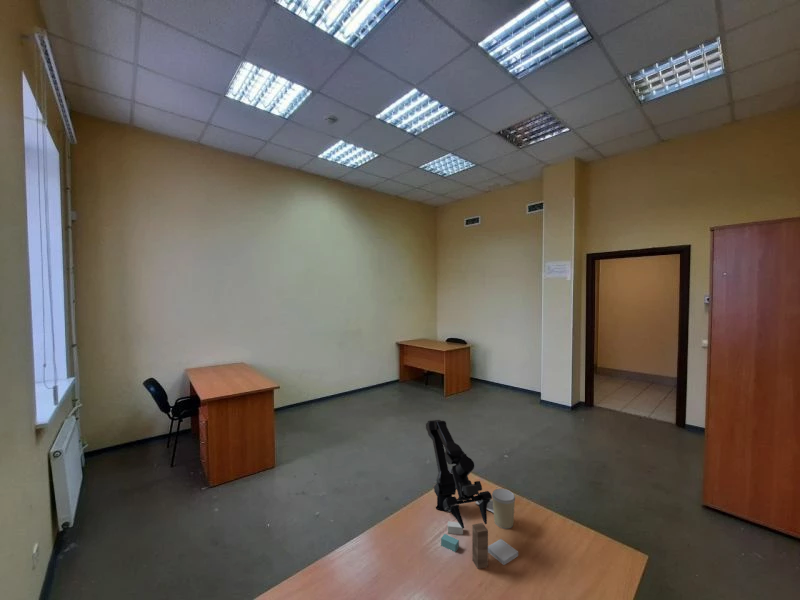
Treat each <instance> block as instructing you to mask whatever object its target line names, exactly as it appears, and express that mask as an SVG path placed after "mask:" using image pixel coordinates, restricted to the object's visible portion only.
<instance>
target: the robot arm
mask: <svg viewBox="0 0 800 600" xmlns="http://www.w3.org/2000/svg"><path fill="white" fill-rule="evenodd" d="M425 429H426V431H427V434H428V436H429V437H430V438H431V440H432V445H433V450H434V456H435V460H436V466H437V471H438V473H437V476H436V483H435V485H434V486H433V490H434V491H433V492H434V494H435V496H436V507H435V509H436V510H439V511H442V512H446V513H450V514H452V516H453V517H454V518H455V519H456V522H458V523H459V524H460V526H461V527H462V528H463V530H464V529H465V525H464V521H463V518H462V514H461V512H460V505H464V504H470V503H475V502H477V501H478V502H479V503H480V504H479V505H478V504H477V505H478V506H477V507H478V509H479V512H480V515H481V518H482V521H483V524H484V525H487V524H488V520H487V519H488V517H487V516H488V514H487V511H488V510H487V504H488V503H489V502H490V500H493V497H492V493H491V492H490V491H489V490H485V491H483V486H482V483H481V481H480V480H476V481H474V482H473V484H472V481H471V480H469V475H470V473H472V471H473V470H475V463H474V460H473V459H472V458H470V457H469V456H468V455H467V453H465V452H464V450H463V449H462V447H461V446H460V445H459V444H457V443H456V441H455V440H454V439H453V436H452V434H451V433H450V431H449V429H448V426H447V422H446V420H441V419H433V420H428V421H427V422H426V423H425ZM448 465H452V468H451V469H450V470H449V466H448ZM456 493H457V495H458V497H456V496H455V495H456Z"/></svg>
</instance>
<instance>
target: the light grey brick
mask: <svg viewBox="0 0 800 600" xmlns="http://www.w3.org/2000/svg"><path fill="white" fill-rule="evenodd" d="M447 534H453V535H464V529H463V528H462V527H461V526H460V524H459V523H458V521H447Z"/></svg>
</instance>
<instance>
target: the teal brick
mask: <svg viewBox="0 0 800 600" xmlns="http://www.w3.org/2000/svg"><path fill="white" fill-rule="evenodd" d="M459 540H460V539H457V538H456V537H453V536H452V535H451V536H450V535H449V534H446V533H444V534H443V535H442V536H441V538H440V544H441V545H440V546H441V547H443V548H445V549H447V550H449V549H450V551H451V550H452V552H454V553H457V551H458V550H459V548H460V547H459V545H460V541H459Z"/></svg>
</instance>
